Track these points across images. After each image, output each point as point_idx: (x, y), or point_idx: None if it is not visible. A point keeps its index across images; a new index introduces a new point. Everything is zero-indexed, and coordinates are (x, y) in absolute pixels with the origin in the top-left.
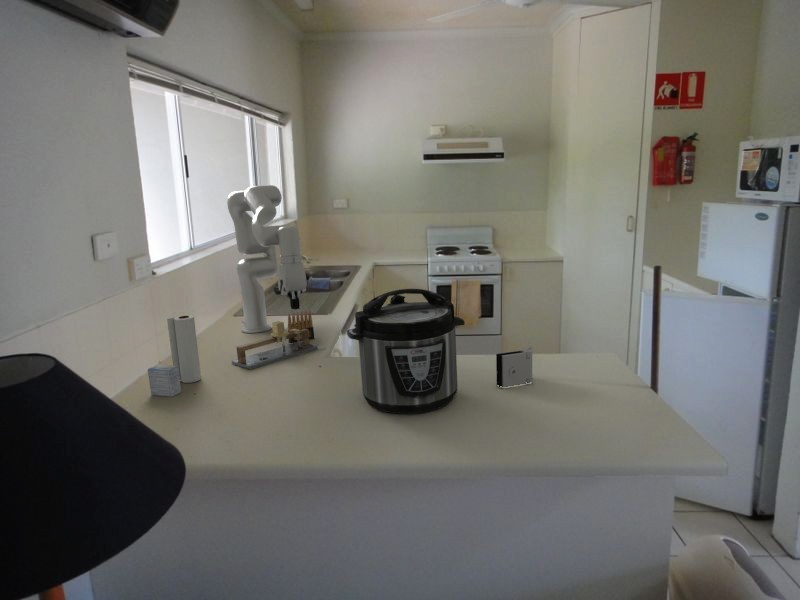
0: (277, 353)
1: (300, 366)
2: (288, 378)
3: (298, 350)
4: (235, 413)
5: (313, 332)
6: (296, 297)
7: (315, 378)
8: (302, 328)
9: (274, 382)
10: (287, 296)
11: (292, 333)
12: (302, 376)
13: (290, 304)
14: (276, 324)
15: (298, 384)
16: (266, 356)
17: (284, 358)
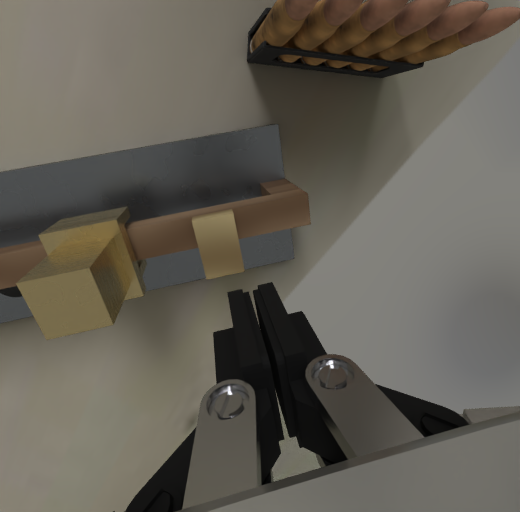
0: None
1: (138, 394)
2: (61, 465)
3: (199, 266)
4: None
5: (400, 72)
6: (303, 438)
7: (132, 491)
8: (356, 53)
9: (9, 475)
10: (172, 455)
11: (196, 247)
12: (106, 467)
13: (214, 345)
14: (45, 330)
15: (73, 508)
16: None
17: None
